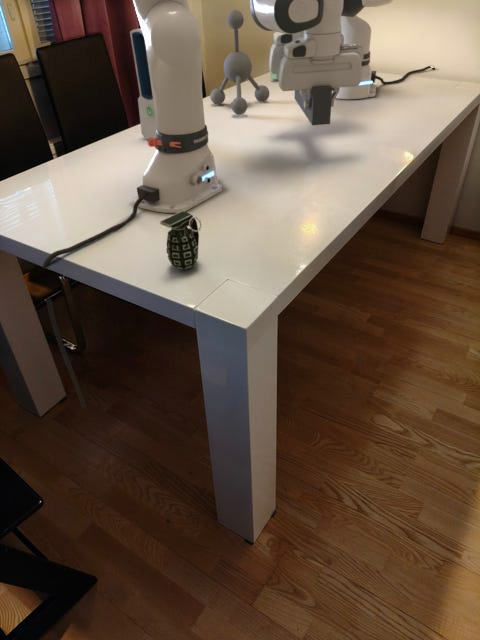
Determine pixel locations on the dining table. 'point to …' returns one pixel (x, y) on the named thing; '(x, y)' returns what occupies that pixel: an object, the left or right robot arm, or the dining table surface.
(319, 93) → the bar
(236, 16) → the molecular model
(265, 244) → the dining table surface
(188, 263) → the grenade
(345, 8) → the right robot arm
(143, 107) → the electronic device
